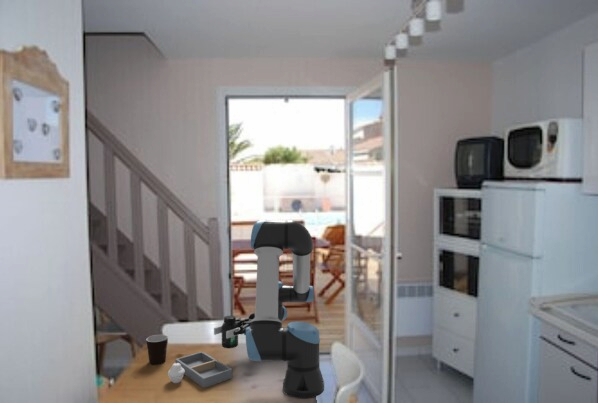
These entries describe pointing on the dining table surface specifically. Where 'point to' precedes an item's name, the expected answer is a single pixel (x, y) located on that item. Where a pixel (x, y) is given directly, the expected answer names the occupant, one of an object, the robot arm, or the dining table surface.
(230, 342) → the supplement bottle
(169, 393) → the dining table surface
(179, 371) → the white lumpy chunk
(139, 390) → the dining table surface
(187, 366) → the caddy
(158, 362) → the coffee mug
